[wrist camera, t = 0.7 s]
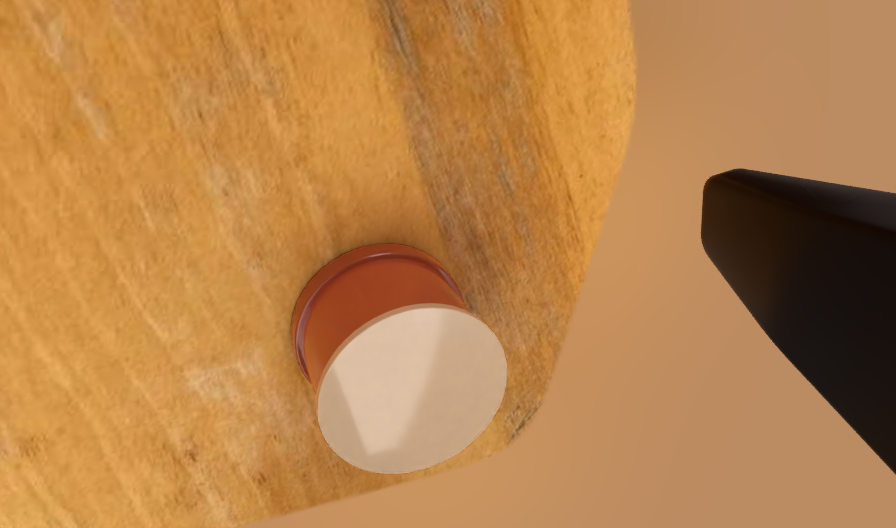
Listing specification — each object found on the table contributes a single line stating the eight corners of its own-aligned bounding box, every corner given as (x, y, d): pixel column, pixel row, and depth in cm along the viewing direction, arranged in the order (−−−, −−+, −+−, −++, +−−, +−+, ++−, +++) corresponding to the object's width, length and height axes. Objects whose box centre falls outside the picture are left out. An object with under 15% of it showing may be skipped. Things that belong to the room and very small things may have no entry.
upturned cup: (463, 368, 31) (511, 443, 27) (305, 412, 29) (332, 497, 25) (452, 225, 28) (503, 286, 24) (276, 265, 26) (302, 336, 22)
